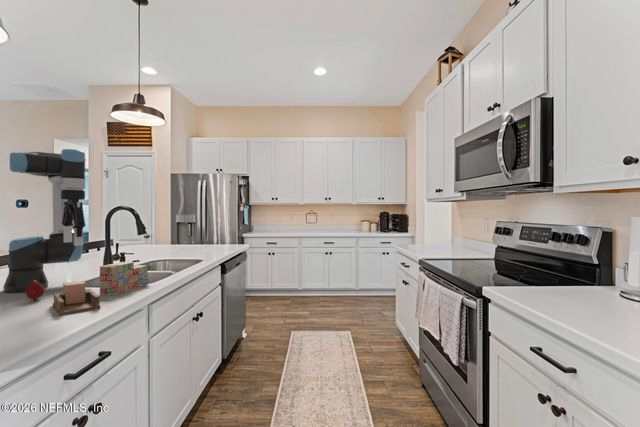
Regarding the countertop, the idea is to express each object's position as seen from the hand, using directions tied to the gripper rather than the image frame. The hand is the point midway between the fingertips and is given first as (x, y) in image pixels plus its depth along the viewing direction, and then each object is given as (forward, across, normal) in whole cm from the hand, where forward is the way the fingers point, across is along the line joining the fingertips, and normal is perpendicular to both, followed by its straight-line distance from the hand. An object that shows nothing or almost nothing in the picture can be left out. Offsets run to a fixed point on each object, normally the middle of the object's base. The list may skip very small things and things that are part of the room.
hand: (73, 243), depth 130 cm
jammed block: (+21, +7, -1) cm, 22 cm away
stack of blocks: (+23, -6, +21) cm, 32 cm away
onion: (+23, -12, -9) cm, 28 cm away
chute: (+22, +11, -2) cm, 25 cm away
